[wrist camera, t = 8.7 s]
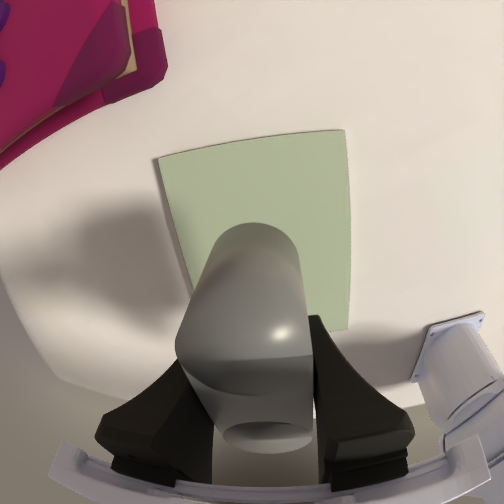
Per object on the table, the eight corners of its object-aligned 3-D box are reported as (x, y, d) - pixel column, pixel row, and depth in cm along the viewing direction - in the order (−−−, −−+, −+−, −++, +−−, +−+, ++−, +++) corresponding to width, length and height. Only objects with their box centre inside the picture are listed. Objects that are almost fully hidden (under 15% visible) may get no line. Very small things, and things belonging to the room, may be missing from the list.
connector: (307, 392, 17) (311, 463, 12) (248, 395, 17) (242, 465, 12) (295, 216, 11) (310, 298, 6) (201, 228, 12) (154, 310, 7)
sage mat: (346, 324, 23) (347, 329, 22) (212, 336, 24) (211, 341, 24) (342, 129, 16) (344, 130, 15) (161, 157, 17) (157, 158, 17)
